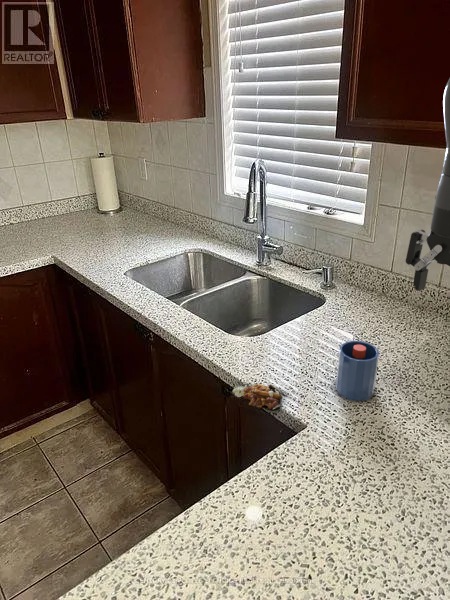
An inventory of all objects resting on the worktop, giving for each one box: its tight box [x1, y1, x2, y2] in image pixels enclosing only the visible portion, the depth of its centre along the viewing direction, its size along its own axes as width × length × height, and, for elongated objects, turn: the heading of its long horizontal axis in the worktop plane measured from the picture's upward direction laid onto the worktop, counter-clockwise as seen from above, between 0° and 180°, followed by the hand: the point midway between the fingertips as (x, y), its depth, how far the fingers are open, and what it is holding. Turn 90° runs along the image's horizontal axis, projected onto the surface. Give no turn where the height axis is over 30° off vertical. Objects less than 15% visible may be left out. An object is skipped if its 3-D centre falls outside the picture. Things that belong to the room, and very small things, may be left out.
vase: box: [335, 340, 380, 402], centre depth 100 cm, size 8×8×11 cm
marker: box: [352, 345, 366, 360], centre depth 99 cm, size 3×3×11 cm
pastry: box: [232, 382, 287, 410], centre depth 100 cm, size 7×12×4 cm, turn 68°
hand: (442, 297), depth 77 cm, fingers open, 8 cm apart
